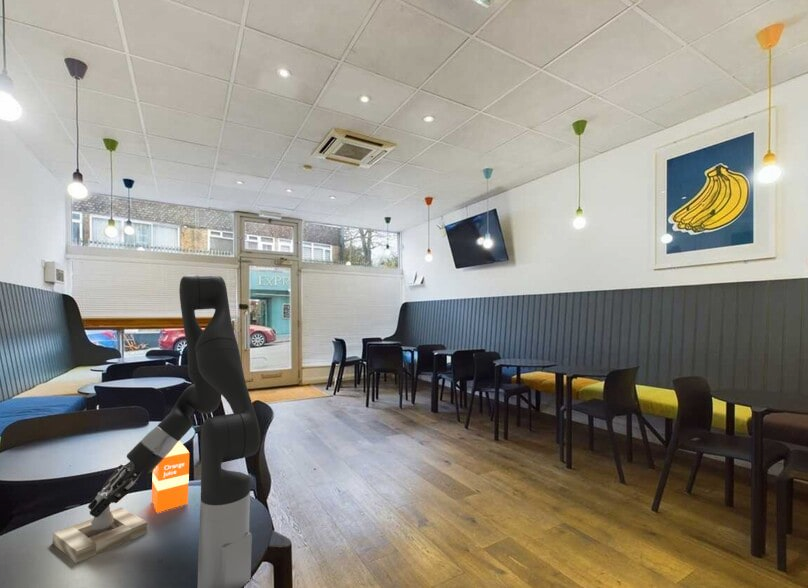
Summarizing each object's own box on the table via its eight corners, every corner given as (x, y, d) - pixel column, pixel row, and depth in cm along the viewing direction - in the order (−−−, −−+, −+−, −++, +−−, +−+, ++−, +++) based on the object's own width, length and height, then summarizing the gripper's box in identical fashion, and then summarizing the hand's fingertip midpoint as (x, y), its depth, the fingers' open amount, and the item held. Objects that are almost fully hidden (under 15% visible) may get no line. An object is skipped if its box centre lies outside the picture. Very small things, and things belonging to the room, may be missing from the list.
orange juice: (156, 513, 104) (159, 438, 105) (150, 502, 110) (153, 431, 112) (188, 504, 109) (191, 433, 110) (181, 493, 116) (184, 426, 117)
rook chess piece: (100, 532, 90) (102, 497, 91) (85, 530, 91) (87, 495, 91) (118, 522, 94) (119, 489, 95) (103, 520, 95) (105, 487, 96)
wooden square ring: (146, 532, 95) (147, 522, 95) (76, 563, 83) (76, 551, 83) (120, 517, 102) (121, 507, 102) (52, 543, 90) (53, 532, 90)
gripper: (136, 434, 104) (76, 494, 95) (147, 447, 94) (80, 516, 85) (158, 449, 107) (102, 509, 98) (171, 463, 97) (109, 531, 88)
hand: (92, 512), depth 92 cm, fingers closed on rook chess piece, 3 cm apart
